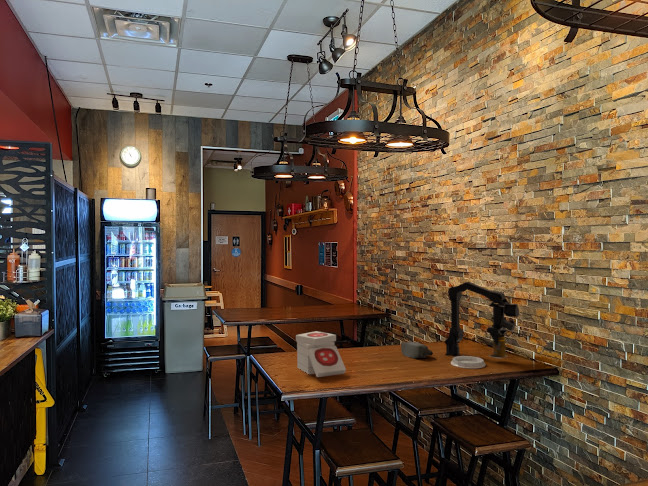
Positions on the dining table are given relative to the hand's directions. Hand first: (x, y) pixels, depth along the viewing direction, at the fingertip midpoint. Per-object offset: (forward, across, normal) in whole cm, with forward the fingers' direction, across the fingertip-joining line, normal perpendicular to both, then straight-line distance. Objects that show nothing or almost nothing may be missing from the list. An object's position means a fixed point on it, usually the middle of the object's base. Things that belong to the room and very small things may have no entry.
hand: (498, 343), depth 268 cm
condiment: (+7, -1, 0) cm, 7 cm away
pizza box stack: (+10, -75, +64) cm, 99 cm away
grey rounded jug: (+10, -15, +42) cm, 46 cm away
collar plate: (+10, -15, +11) cm, 21 cm away
